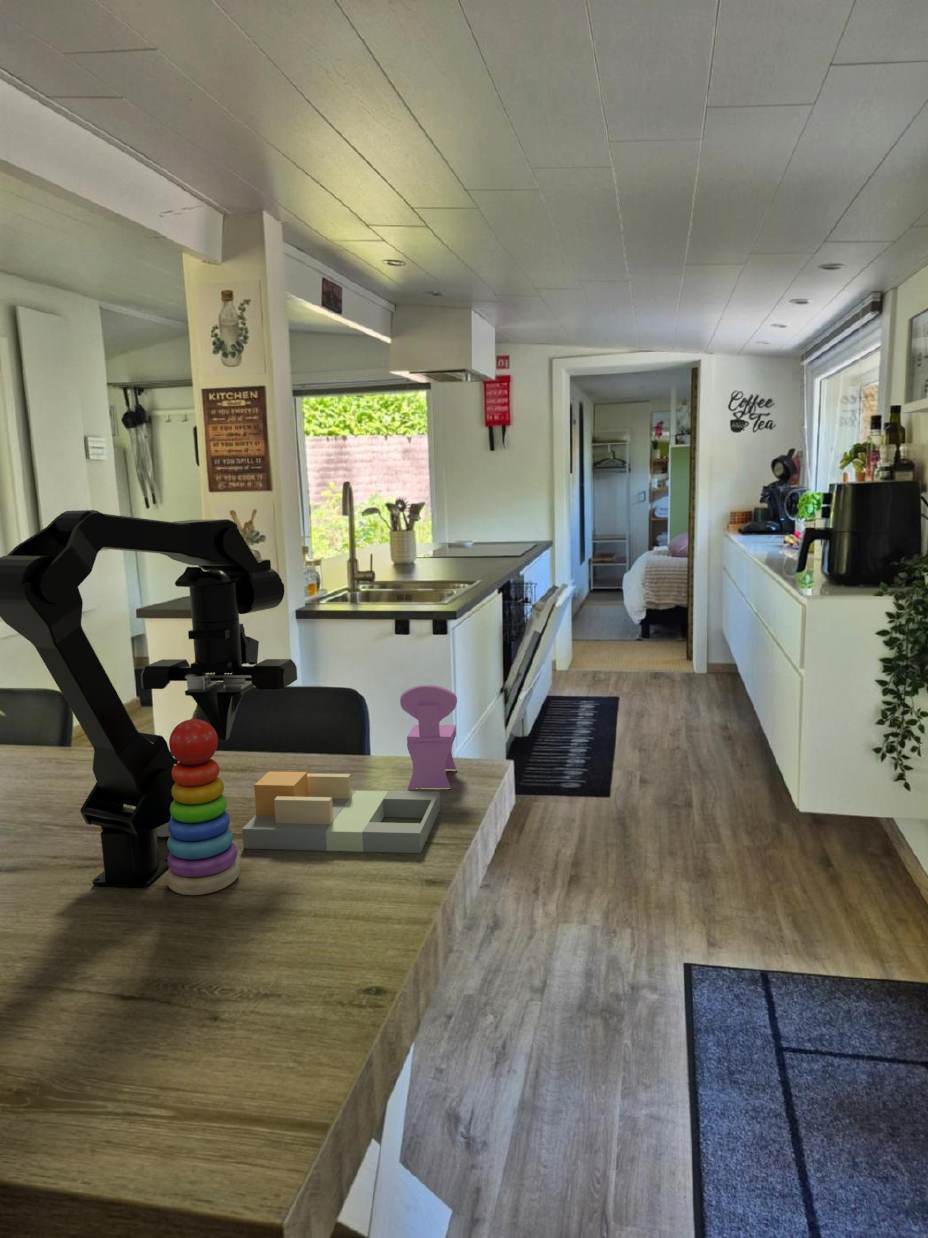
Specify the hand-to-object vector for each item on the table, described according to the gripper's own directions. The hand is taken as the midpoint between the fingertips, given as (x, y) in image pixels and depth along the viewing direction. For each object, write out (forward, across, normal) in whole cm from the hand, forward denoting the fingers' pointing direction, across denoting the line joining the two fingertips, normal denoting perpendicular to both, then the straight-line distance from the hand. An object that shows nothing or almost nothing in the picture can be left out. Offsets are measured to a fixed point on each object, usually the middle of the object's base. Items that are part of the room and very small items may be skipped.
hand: (224, 739), depth 111 cm
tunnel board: (+12, -16, 0) cm, 19 cm away
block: (+9, -7, 0) cm, 12 cm away
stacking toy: (+12, -4, +16) cm, 20 cm away
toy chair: (+12, -24, -19) cm, 33 cm away
